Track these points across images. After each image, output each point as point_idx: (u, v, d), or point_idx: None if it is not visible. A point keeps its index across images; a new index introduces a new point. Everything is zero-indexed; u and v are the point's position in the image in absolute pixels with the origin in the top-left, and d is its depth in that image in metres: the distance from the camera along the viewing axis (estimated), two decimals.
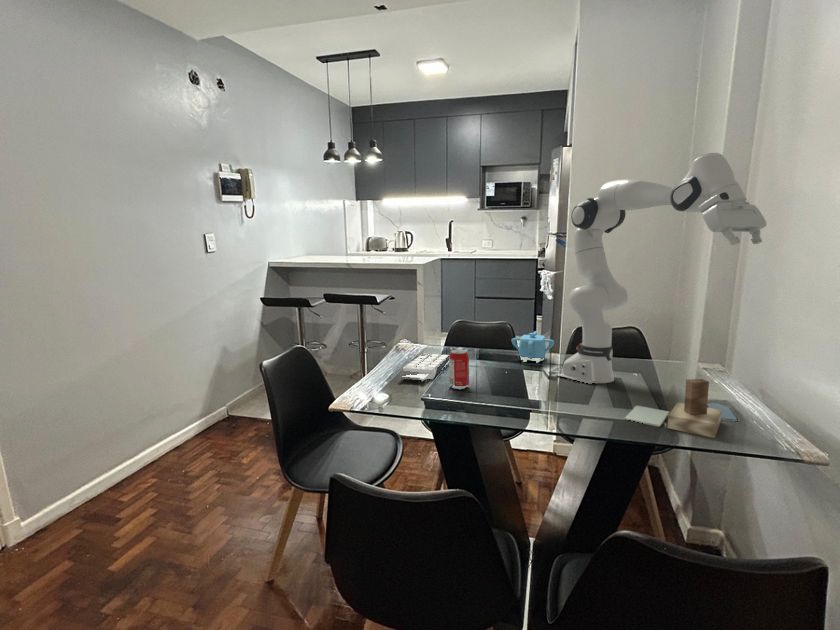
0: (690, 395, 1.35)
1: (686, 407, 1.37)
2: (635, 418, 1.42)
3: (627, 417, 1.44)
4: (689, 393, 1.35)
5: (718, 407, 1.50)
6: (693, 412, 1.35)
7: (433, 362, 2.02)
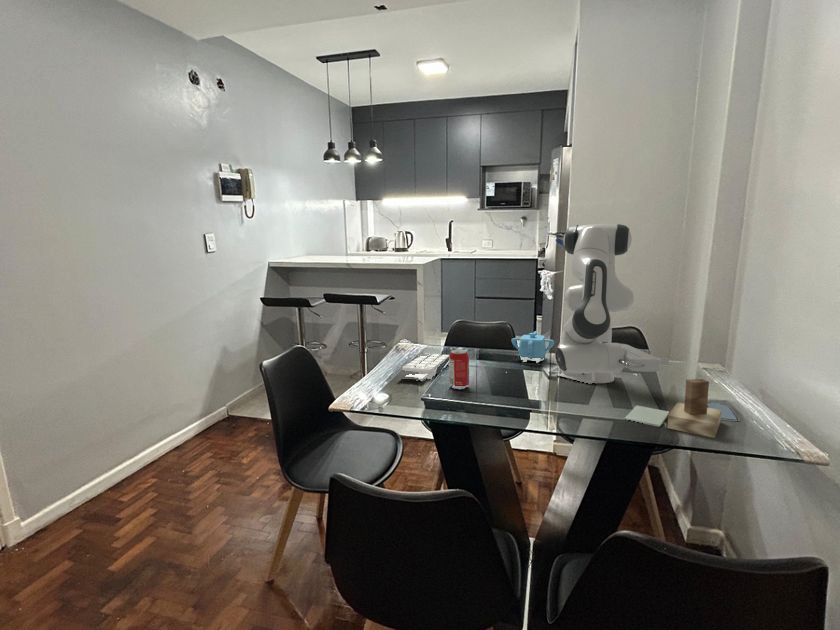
0: (690, 395, 1.35)
1: (686, 407, 1.37)
2: (635, 418, 1.42)
3: (627, 417, 1.44)
4: (689, 393, 1.35)
5: (718, 407, 1.50)
6: (693, 412, 1.35)
7: (433, 362, 2.03)
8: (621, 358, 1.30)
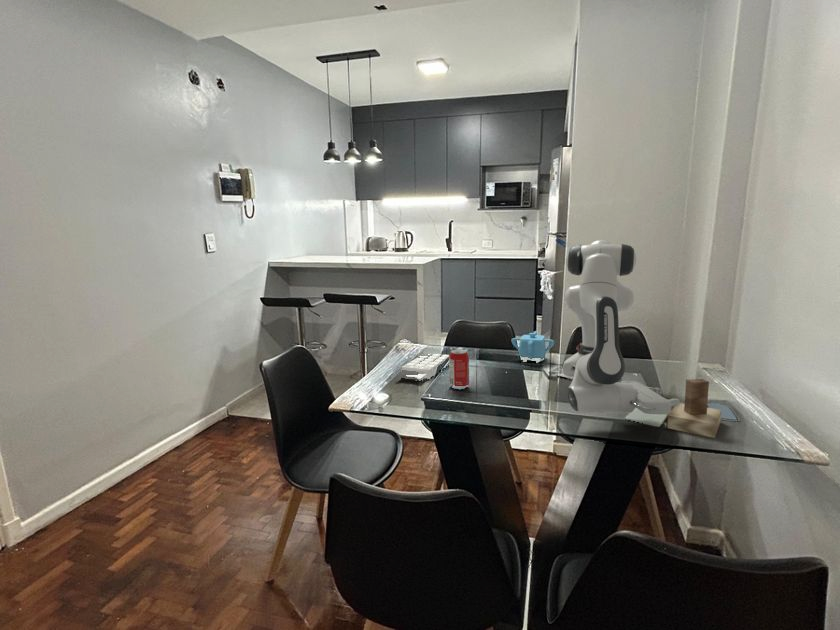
0: (690, 395, 1.35)
1: (686, 407, 1.37)
2: (635, 418, 1.42)
3: (627, 417, 1.44)
4: (689, 393, 1.35)
5: (718, 407, 1.50)
6: (693, 412, 1.35)
7: (433, 362, 2.03)
8: (632, 399, 1.32)
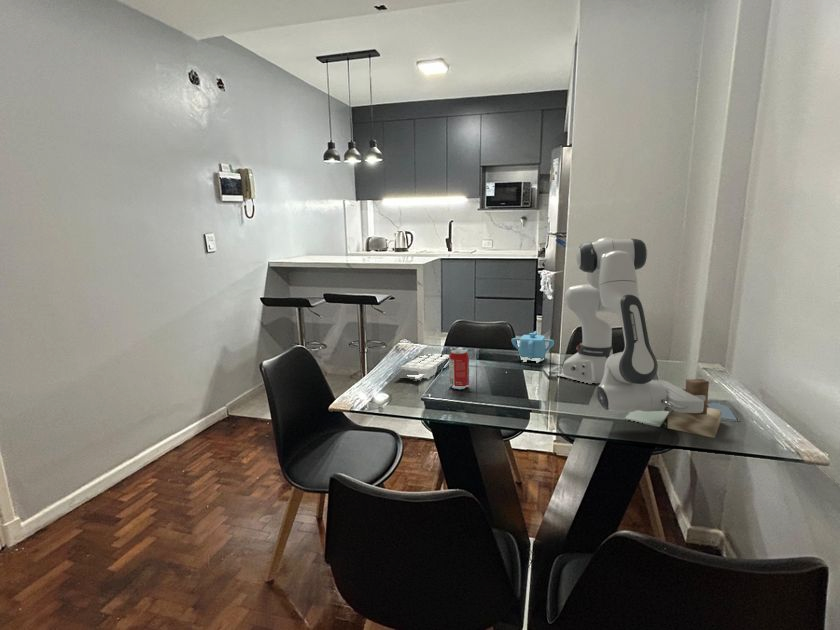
0: None
1: None
2: (635, 418, 1.42)
3: (627, 417, 1.44)
4: None
5: (718, 407, 1.50)
6: None
7: (432, 362, 2.03)
8: (664, 398, 1.32)
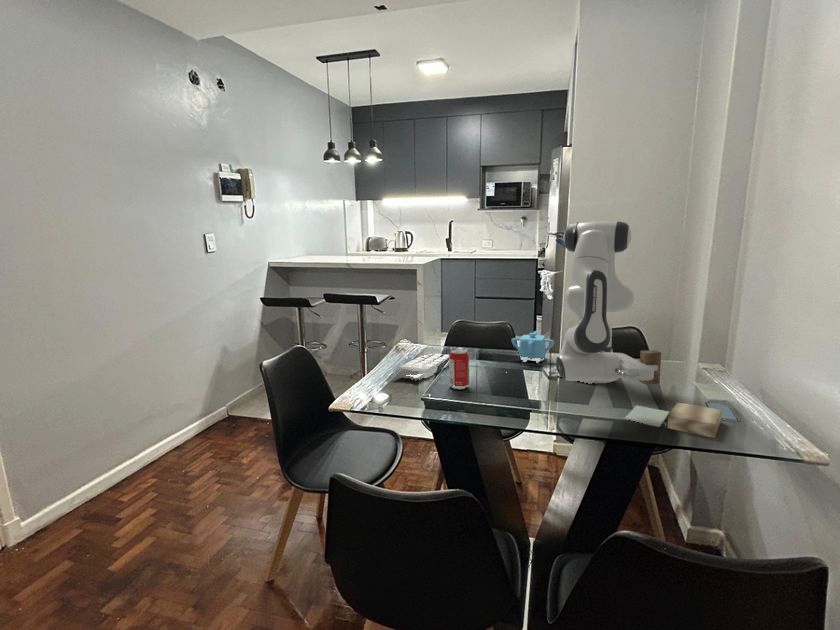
0: None
1: None
2: (635, 418, 1.42)
3: (627, 417, 1.44)
4: (643, 363, 1.42)
5: (718, 407, 1.50)
6: (647, 382, 1.42)
7: (432, 361, 2.03)
8: (617, 367, 1.38)
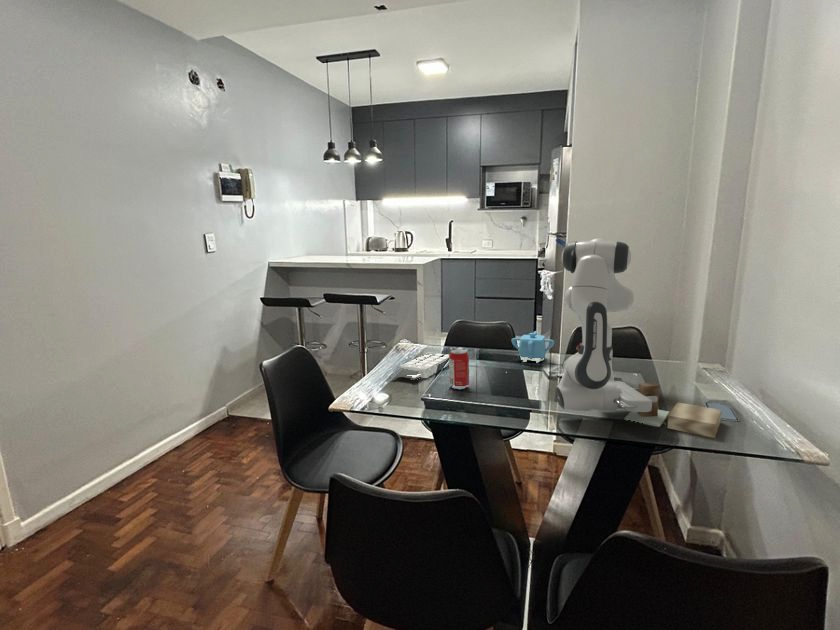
0: None
1: None
2: (635, 418, 1.42)
3: (627, 417, 1.44)
4: None
5: (718, 407, 1.50)
6: (645, 414, 1.44)
7: (432, 361, 2.04)
8: (616, 398, 1.40)
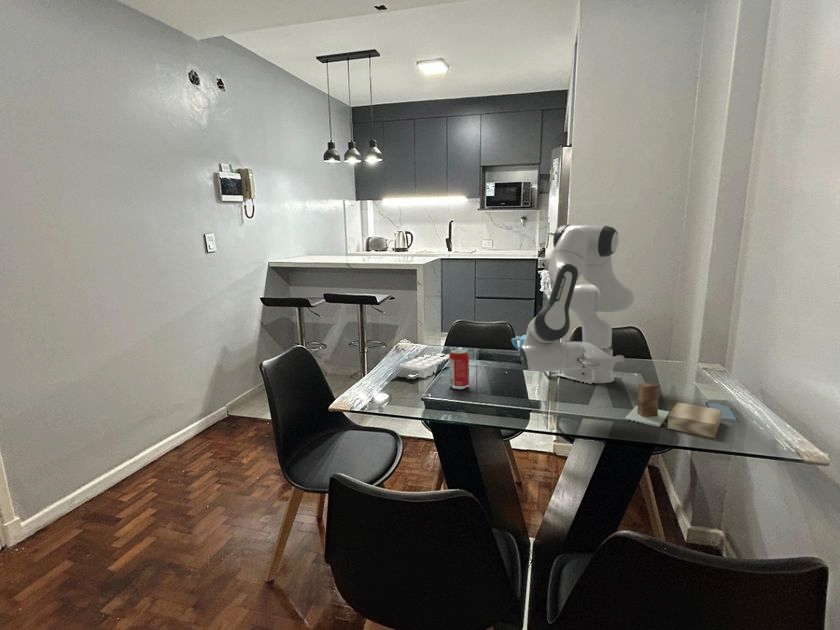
0: (641, 398, 1.44)
1: (639, 410, 1.46)
2: (635, 418, 1.42)
3: (627, 417, 1.44)
4: (641, 396, 1.44)
5: (718, 407, 1.50)
6: (645, 414, 1.44)
7: (432, 361, 2.04)
8: (579, 357, 1.38)
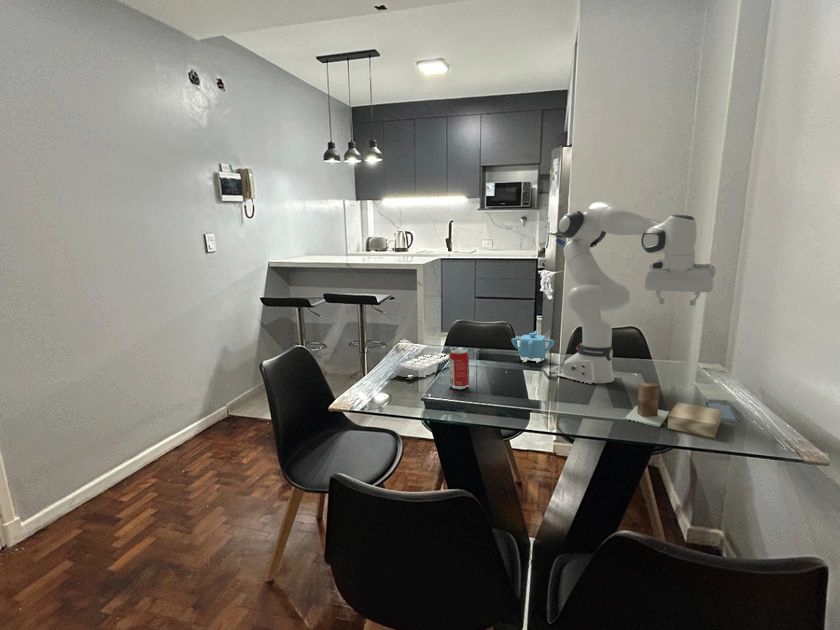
0: (641, 398, 1.44)
1: (639, 410, 1.46)
2: (635, 418, 1.42)
3: (627, 417, 1.44)
4: (641, 396, 1.44)
5: (718, 407, 1.50)
6: (645, 414, 1.44)
7: (432, 361, 2.04)
8: None
